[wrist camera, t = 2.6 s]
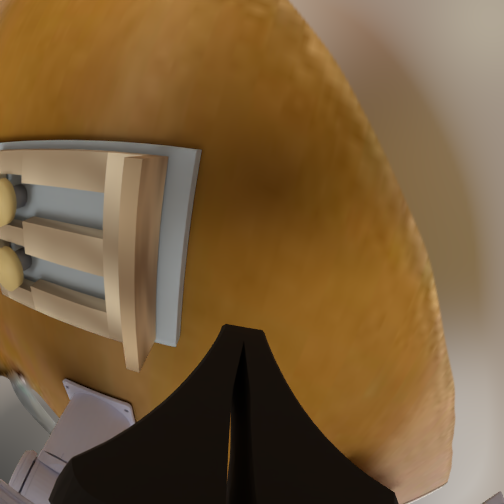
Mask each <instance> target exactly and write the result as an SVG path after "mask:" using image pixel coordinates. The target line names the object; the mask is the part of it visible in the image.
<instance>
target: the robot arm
mask: <svg viewBox="0 0 504 504" xmlns="http://www.w3.org/2000/svg"><path fill="white" fill-rule="evenodd" d="M63 384H64V387H65V389H66V391H67V394H68V396H69V399H70V402H69V403H68V405H67V407H66V408H65V410H64V412H63V414H62V415H61V417H60V419H59V421H58V422H57V424H56V426H55V428H54V429H53V431H52V433H51V435H50V437H49V438H48V440H47V442H46V444H45V446H44V448H43V450H41V452H40V453H39V455H38V457H36V455H37V453H36V452H35V451H34V450H31V451H25V453H24V454H23V456H22V458H21V459H20V461H19V463H18V465H17V467H16V469H15V471H14V473H13V475H12V477H11V479H10V482H9V484H6V483H5V482H4V481H3V480H2V479H0V504H398V501H397V498H396V495H395V492H393V491H391V490H390V489H388V488H387V487H385V486H383V485H382V484H380V483H379V482H377V481H376V480H374V479H373V478H371V477H370V476H368V475H367V474H366V473H364V472H363V471H362V470H361V469H359V468H358V467H357V466H356V465H354V464H353V463H352V462H351V461H350V460H348V459H347V458H346V457H345V456H344V455H343V454H342V453H341V452H340V451H339V450H338V449H337V448H336V447H335V446H334V445H333V444H332V443H331V442H330V441H329V440H328V439H327V438H326V437H325V436H324V434H323V433H322V432H321V431H320V430H319V429H318V427H317V426H316V425H315V424H314V423H313V421H312V420H311V419H310V417H309V416H308V415H307V413H306V412H305V411H304V409H303V408H302V406H301V405H300V403H299V402H298V400H297V399H296V397H295V396H294V394H293V392H292V391H291V389H290V387H289V386H288V384H287V382H286V380H285V379H284V377H283V375H282V373H281V371H280V369H279V367H278V365H277V363H276V361H275V359H274V356H273V354H272V352H271V349H270V347H269V344H268V342H267V339H266V336H265V333H264V332H263V331H262V330H258V329H252V328H246V327H240V326H234V325H229V324H225V325H223V326H222V328H221V331H220V333H219V335H218V337H217V339H216V340H215V342H214V344H213V345H212V347H211V348H210V350H209V351H208V353H207V354H206V355H205V357H204V358H203V360H202V361H201V362H200V363H199V365H198V366H197V367H196V368H195V369H194V371H193V372H192V373H191V374H190V375H189V376H188V378H187V379H186V380H185V381H184V382H183V383H182V384H181V385H180V386H179V387H178V388H177V389H176V390H175V391H174V392H173V393H172V394H171V395H170V396H169V397H168V398H167V399H166V400H164V401H163V402H162V403H161V404H160V405H158V406H157V407H156V408H155V409H154V410H152V411H151V412H150V413H149V414H147V415H146V416H145V417H143V418H142V419H141V420H139V421H138V422H136V423H135V419H134V415H133V410H132V407H131V405H130V404H128V403H126V402H123V401H120V400H117V399H114V398H112V397H109V396H106V395H104V394H101V393H98V392H96V391H93V390H91V389H88V388H86V387H84V386H81V385H79V384H77V383H74V382H72V381H70V380H68V379H64V380H63ZM230 414H231V448H230V462H229V470H228V479H227V463H228V443H229V428H230ZM482 504H504V498H503V495H502V493H501V492H498V493H497V494H495V495H494V496H492V497H491V498H489V499H488V500H486V501H485V502H483V503H482Z"/></svg>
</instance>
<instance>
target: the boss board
mask: <svg viewBox="0 0 504 504" xmlns="http://www.w3.org/2000/svg"><path fill="white" fill-rule="evenodd" d="M7 149H84V150H103V151H118V152H130V153H141V154H151V155H160V156H168V157H169V158H168V164H167V171H166V178H165V186H164V194H163V203H162V212H161V222H160V234H159V247H158V262H157V283H156V339H155V341H154V342H157V343H160V344H164V345H169V346H173V347H176V345H177V342H178V340H179V337H180V327H181V312H182V299H183V287H184V276H185V266H186V257H187V248H188V239H189V231H190V223H191V216H192V208H193V201H194V195H195V188H196V182H197V175H198V169H199V163H200V157H201V152H202V150H199V149H192V148H184V147H176V146H167V145H157V144H146V143H134V142H119V141H99V140H34V141H15V142H2V143H0V150H7ZM21 181H22V175H16V174H6V178H1V179H0V227H2V226H4V225H7V224H9V223H11V222H12V221H13V219H17V220H21V221H24V220H26V219H28V218H31V217H33V216H35V217H40V218H45V219H50V220H55V221H60V222H65V223H70V224H74V225H79V226H84V227H89V228H94V229H99V230H103V206H104V193H100V192H93V191H86V190H78V189H70V188H62V187H53V186H44V185H35V184H26V183H21ZM24 278H25V279H28V280H30V281H33V282H36V281H38V280H39V279H42V280H45V281H48V282H51V283H54V284H56V285H59V286H62V287H65V288H68V289H71V290H74V291H77V292H80V293H84V294H87V295H90V296H93V297H97V298H100V299H103V300H105V289H104V277H102V276H98V275H94V274H91V273H87V272H83V271H80V270H76V269H73V268H69V267H66V266H63V265H59V264H56V263H53V262H50V261H46V260H43V259H40V258H37V257H34V256H31V255H28V254H25V247H24V246H21V245H18V244H15V243H12V242H10V247H8V246H4V247H2V248H0V284H1V285H2V286H3V287H4V288H5V289H6V290H8V291H14V290H15V289H16V288H18V287H19V286H20V285H22V283H23V279H24Z"/></svg>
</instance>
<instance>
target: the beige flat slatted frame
mask: <svg viewBox="0 0 504 504" xmlns="http://www.w3.org/2000/svg"><path fill="white" fill-rule="evenodd" d="M168 158H169V157H168V156H160V155H151V154H141V153H130V152H118V151H103V150H84V149H7V150H0V179H1V178H6V174H16V175H22V181H21V183H26V184H35V185H44V186H53V187H62V188H70V189H78V190H86V191H93V192H100V193H104V206H103V230H99V229H94V228H89V227H84V226H79V225H74V224H70V223H65V222H60V221H55V220H50V219H45V218H40V217H35V216H33V217H31V218H28V219H26V220H24V221H21V220H17V219H13V221H12V222H11V223H9V224H7V225H4V226H2V227H0V248H2V247H4V246H8V247H10V242H12V243H15V244H18V245H21V246H24V247H25V254H28V255H31V256H34V257H37V258H40V259H43V260H46V261H50V262H53V263H56V264H59V265H63V266H66V267H69V268H73V269H76V270H80V271H83V272H87V273H91V274H94V275H98V276H102V277H104V289H105V300H103V299H100V298H97V297H93V296H90V295H87V294H84V293H80V292H77V291H74V290H71V289H68V288H65V287H62V286H59V285H56V284H54V283H51V282H48V281H45V280H42V279H39V280H38V281H36V282H33V281H30V280H28V279H25V278H24V279H23V283H22V285H20V286H19V287H18V288H16V289H15V290H14V291H8V290H6V289H5V288H4V287H3V286H2V285H1V284H0V287H1V291H2V294H3V295H5V296H7V297H9V298H11V299H13V300H15V301H17V302H19V303H21V304H23V305H26V306H28V307H30V308H32V309H34V310H36V311H39V312H41V313H43V314H46V315H48V316H50V317H53V318H55V319H58V320H60V321H63V322H65V323H68V324H70V325H73V326H75V327H78V328H81V329H83V330H86V331H89V332H92V333H95V334H98V335H101V336H104V337H107V338H110V339H113V340H116V341H119V342H122V343H123V346H124V355H125V362H126V369H129V370H132V371H136V372H140V370H141V368H142V366H143V364H144V362H145V360H146V358H147V356H148V354H149V352H150V350H151V347H152V345H153V343H154V341H155V339H156V283H157V262H158V247H159V234H160V222H161V212H162V203H163V194H164V186H165V178H166V171H167V164H168Z"/></svg>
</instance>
